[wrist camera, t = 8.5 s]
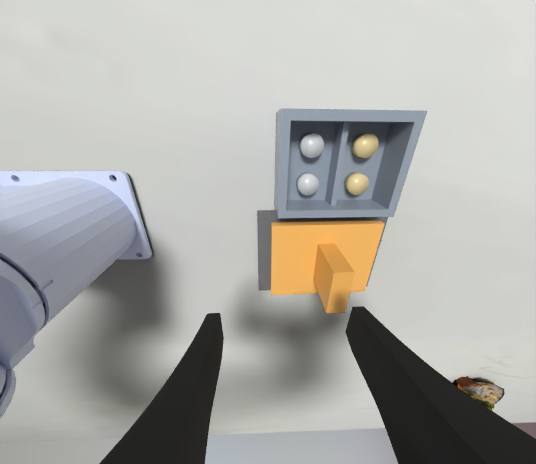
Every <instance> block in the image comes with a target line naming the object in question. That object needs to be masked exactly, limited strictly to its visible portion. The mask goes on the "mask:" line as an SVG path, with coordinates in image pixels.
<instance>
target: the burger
mask: <svg viewBox="0 0 536 464" xmlns="http://www.w3.org/2000/svg"><path fill="white" fill-rule="evenodd" d="M455 381H456V382H457V383H458V388H460V389H461V390H462V391H464V392H465V393H466V394H468V395H469V396H471V397H472V398H474V399H475V400H477V401H478V402H479V403H481V404H482V405H484V406H485V407H487V408H488V409H490V410H491V411H492V408H494V404H495V403H497V402H498V401H499V400H501V398H502V397H503V395H504V389H503V388H501V387H499V386H497V385H495V384H494V385H493V384H490V383H481V382H474V381H473V380H472V379H471V378H469V377H468V376H467V377H461V378H459V379H457V380H455Z"/></svg>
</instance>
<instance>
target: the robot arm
mask: <svg viewBox="0 0 536 464" xmlns="http://www.w3.org/2000/svg"><path fill="white" fill-rule="evenodd" d="M113 175H114V176H115V177H116V178H117V180H114V179H113ZM17 177H18V178H19V179H18V178H17ZM139 253H141V254H142V255H140V254H139ZM151 256H152V251H151V248H150V244H149V241H148V238H147V235H146V231H145V228H144V225H143V221H142V218H141V215H140V212H139V208H138V205H137V202H136V199H135V195H134V192H133V189H132V185H131V182H130V179H129V176H128V175H127V174H126V173H125V172H123V171H0V419H1V417H2V416H3V415H4V413H5V411H6V409H7V407H8V406H9V404H10V402H11V400H12V397H13V394H14V391H15V385H16V377H15V372H14V370H13V368H14V367H15V366H16V365H17V364H18V363H19V362H20V361H21V360H22V359H23V358H24V357H25V356H26V355H27V354H28V353H29V352H30V351H31V350H32V349H33V348H34V347H35V345H34V343H33V339H34V336H35V335H36V334H37V333H38V332H39V331H40V330H41V329H42V328H43V327H44V326H45V325H46V324H47V323H49V322H50V321H51V320H52V319H53V318H54V317H55V316H56V315H57V314H58V313H59V312H60V311H62V310H63V309H64V308H65V307H66V306H67V305H68V304H69V303H70V302H71V301H72V300H73V299H75V298H76V297H77V296H78V295H79V294H80V293H81V292H82V291H83V290H84V289H85V288H86V287H88V286H89V285H90V284H91V283H92V282H93V281H94V280H95V279H96V278H97V277H98V276H99V275H101V274H102V273H103V272H104V271H105V270H106V269H107V268H108V267H109V266H110V265H111V264H112V263H114V262H115V261H116V260H131V259H149V258H150V257H151ZM346 335H347V338H348V341H349V344H350V347H351V350H352V352H353V354H354V357H355V359H356V361H357V363H358V365H359V368H360V370H361V372H362V374H363V376H364V378H365V380H366V383H367V385H368V387H369V389H370V391H371V393H372V396H373V398H374V400H375V402H376V405H377V407H378V409H379V412H380V414H381V417H382V420H383V422H384V425H385V428H386V430H387V432H388V436H389V438H390V441H391V444H392V447H393V450H394V452H395V455H396V458H397V461H398V464H536V439H535V438H533V437H532V436H530V435H528V434H527V433H525V432H524V431H522V430H521V429H519V428H517V427H516V426H514V425H513V424H511V423H510V422H508V421H506V420H505V419H503V418H502V417H500V416H499V415H497V414H496V413H494V412H493V411H491V410H490V409H488V408H487V407H485V406H484V405H482V404H481V403H479V402H478V401H477V400H475V399H474V398H472V397H471V396H469V395H468V394H466V393H465V392H464V391H462V390H461V389H460V388H458V387H457V386H455V385H454V384H453V383H451V382H450V381H449V380H447V379H446V378H445V377H443V376H442V375H441V374H440V373H438V372H437V371H436V370H434V369H433V368H432V367H431V366H429V365H428V364H427V363H426V362H424V361H423V360H422V359H421V358H420V357H418V356H417V355H416V354H415V353H414V352H412V351H411V350H410V349H409V348H408V347H407V346H406V345H404V344H403V343H402V342H401V341H400V340H399V339H398V338H397V337H396V336H394V335H393V334H392V333H391V332H390V331H389V330H388V329H387V328H386V327H385V326H384V325H383V324H381V323H380V322H379V321H378V320H377V319H376V318H375V317H374V316H373V315H372V314H371V313H370V312H369V311H368V310H367V309H366V308H364V307H352V311H351V314H350V318H349V321H348V325H347V328H346ZM223 339H224V338H223V331H222V324H221V317H220V313H210V314H207V315H206V317H205V319H204V321H203V323H202V325H201V327H200V329H199V331H198V332H197V334H196V336H195V338H194V340H193V341H192V343H191V345H190V346H189V348H188V350H187V351H186V353H185V354H184V356H183V358H182V359H181V361H180V362H179V364H178V365H177V367H176V368H175V370H174V371H173V373H172V374H171V376H170V377H169V379H168V380H167V381H166V383H165V384H164V386H163V387H162V388H161V390H160V391H159V392H158V394H157V395H156V396H155V398H154V399H153V400H152V402H151V403H150V404H149V406H148V407H147V408H146V409H145V411H144V412H143V413H142V414H141V416H140V417H139V418H138V419H137V421H136V422H135V423H134V424H133V426H132V427H131V428H130V429H129V430H128V432H127V433H126V434H125V435H124V436H123V438H122V439H121V440H120V441H119V442H118V443H117V444H116V446H115V447H114V448H113V449H112V450H111V451H110V452H109V453H108V455H107V456H106V457H105V458H104V459H103V460H102V461H101V463H100V464H205V455H206V447H207V439H208V431H209V423H210V417H211V411H212V406H213V401H214V396H215V391H216V385H217V380H218V375H219V370H220V365H221V359H222V350H223Z"/></svg>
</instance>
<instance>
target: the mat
mask: <svg viewBox="0 0 536 464" xmlns="http://www.w3.org/2000/svg"><path fill="white" fill-rule="evenodd" d="M257 217H258V275H259V290H271V223H275V222H325V221H376V220H380V221H382V222H383V223H385V225H384V228H383V231H382V235H383V232H384V229H385V226H386V222H387V219H388V217H337V218H277V214H276V210H268V211H257ZM382 235H381V238H380V242H381V239H382ZM380 242H379V245H380ZM379 245H378V248H379ZM378 248H377V252H378ZM377 252H376V255H377ZM376 255H375V258H376ZM375 258H374V262H375ZM374 262H373V265H374ZM373 265H372V268H373ZM372 268H371V271H372ZM370 275H371V272H370ZM370 275H369V278H370ZM369 278H368V281H369ZM367 284H368V282H367ZM366 287H367V285H366Z"/></svg>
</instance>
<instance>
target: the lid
mask: <svg viewBox="0 0 536 464" xmlns="http://www.w3.org/2000/svg"><path fill="white" fill-rule="evenodd" d="M384 225H385V223H383V222H382V221H380V220H376V221H325V222H275V223H271V295H284V294H310V293H318V294H319V296H320V299H321V301H322V304H323V307H324V309H325V312H326V313H345V310H346V306H347V302H348V298H349V294H350V292H361V291H365V289H366V285H367V282H368V278H369V275H370V272H371V268H372V265H373V262H374V258H375V255H376V252H377V248H378V245H379V242H380V238H381V235H382V231H383V228H384Z"/></svg>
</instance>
